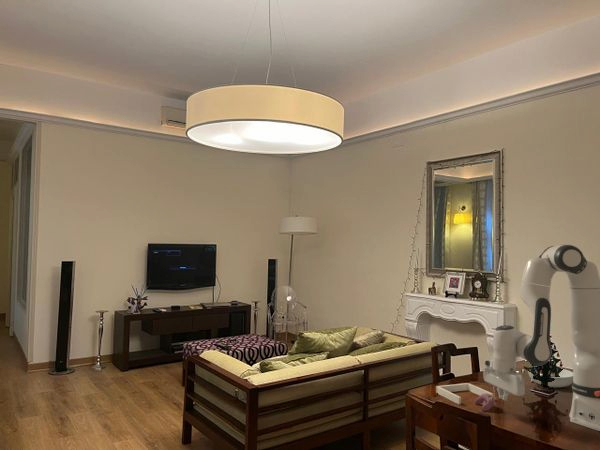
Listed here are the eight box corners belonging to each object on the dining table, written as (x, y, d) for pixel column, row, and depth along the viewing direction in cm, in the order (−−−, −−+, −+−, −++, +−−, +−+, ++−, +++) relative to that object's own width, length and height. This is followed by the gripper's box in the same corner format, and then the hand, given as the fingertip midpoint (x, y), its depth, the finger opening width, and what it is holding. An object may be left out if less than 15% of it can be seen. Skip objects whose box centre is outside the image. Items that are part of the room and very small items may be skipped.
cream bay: (493, 400, 214) (493, 393, 214) (458, 404, 208) (458, 397, 208) (468, 389, 230) (468, 382, 230) (435, 392, 224) (435, 386, 224)
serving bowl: (533, 376, 253) (533, 363, 253) (578, 384, 240) (578, 370, 240) (523, 385, 237) (523, 371, 237) (570, 394, 223) (570, 379, 224)
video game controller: (491, 415, 199) (498, 400, 199) (481, 410, 199) (488, 395, 199) (482, 407, 209) (489, 393, 209) (473, 402, 209) (480, 388, 209)
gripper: (529, 372, 186) (528, 408, 185) (493, 358, 205) (492, 391, 205) (516, 373, 184) (515, 409, 184) (481, 359, 203) (480, 392, 203)
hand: (502, 399), depth 194 cm, fingers closed
